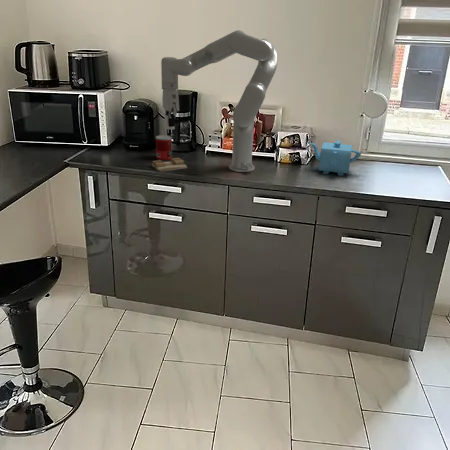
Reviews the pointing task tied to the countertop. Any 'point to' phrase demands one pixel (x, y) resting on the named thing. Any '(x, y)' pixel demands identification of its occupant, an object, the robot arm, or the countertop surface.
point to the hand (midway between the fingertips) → (170, 125)
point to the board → (169, 165)
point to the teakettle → (335, 157)
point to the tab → (167, 123)
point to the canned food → (163, 147)
